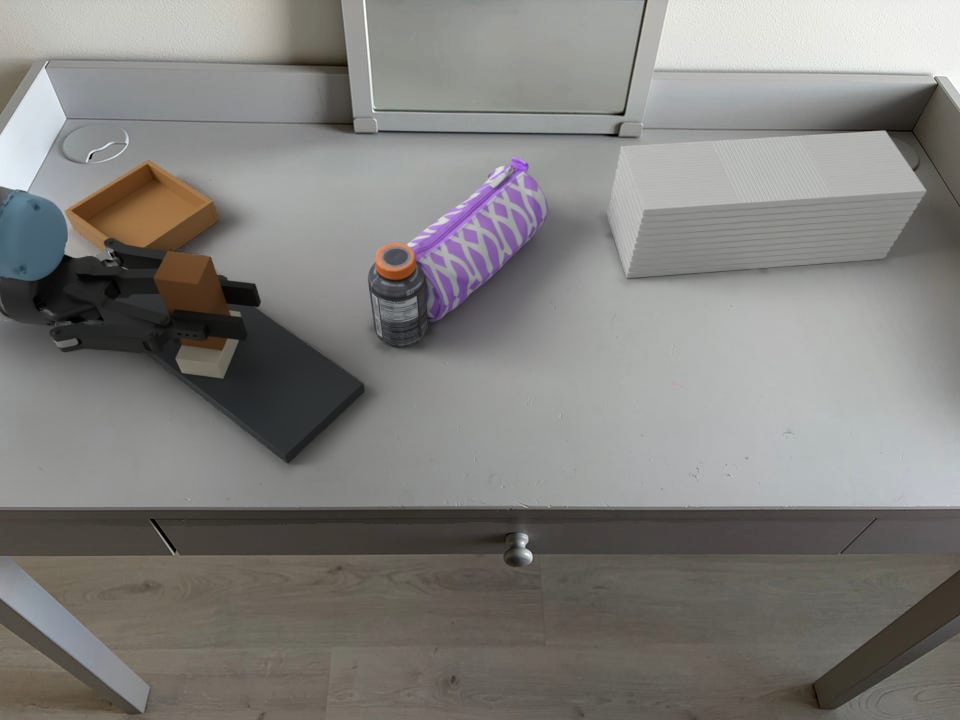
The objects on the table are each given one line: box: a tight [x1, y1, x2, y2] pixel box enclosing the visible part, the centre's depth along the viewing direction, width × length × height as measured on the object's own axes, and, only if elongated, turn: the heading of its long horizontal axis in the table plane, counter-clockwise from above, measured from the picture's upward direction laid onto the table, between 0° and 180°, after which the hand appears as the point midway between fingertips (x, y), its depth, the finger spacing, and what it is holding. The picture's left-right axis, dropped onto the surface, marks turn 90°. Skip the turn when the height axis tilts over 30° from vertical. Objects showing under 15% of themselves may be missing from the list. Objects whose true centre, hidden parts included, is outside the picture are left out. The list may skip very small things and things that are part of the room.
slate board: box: [112, 249, 365, 464], centre depth 83 cm, size 11×30×2 cm, turn 52°
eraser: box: [153, 251, 241, 379], centre depth 77 cm, size 7×4×12 cm, turn 172°
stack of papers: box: [606, 130, 927, 279], centre depth 92 cm, size 32×11×11 cm, turn 97°
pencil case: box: [406, 155, 549, 323], centre depth 88 cm, size 22×9×10 cm, turn 145°
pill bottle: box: [367, 242, 429, 348], centre depth 82 cm, size 6×6×11 cm
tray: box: [63, 159, 220, 252], centre depth 94 cm, size 12×12×3 cm
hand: (249, 311), depth 76 cm, fingers closed on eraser, 4 cm apart
